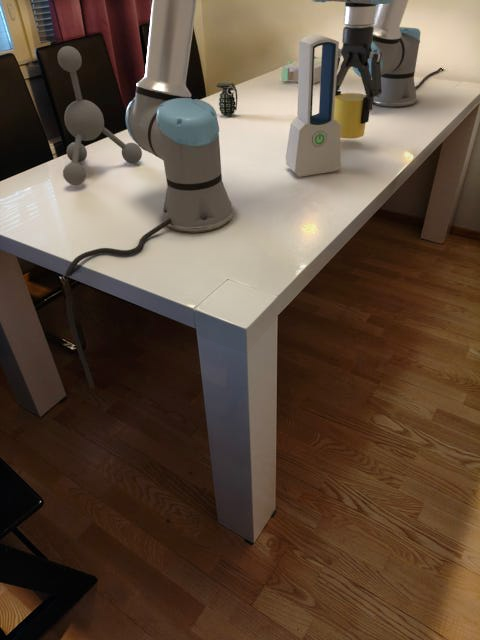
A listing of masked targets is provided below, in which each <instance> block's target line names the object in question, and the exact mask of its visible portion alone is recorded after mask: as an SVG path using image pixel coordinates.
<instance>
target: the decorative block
mask: <svg viewBox="0 0 480 640" xmlns="http://www.w3.org/2000/svg"><path fill="white" fill-rule="evenodd" d="M321 61H322V56H315V55H314V76H313V85H316V84H317V83H320V82H321ZM298 76H299V60H296V61H287V62H286V65H283V67H281V81H282V82H283V81H284V82H292V83H298Z"/></svg>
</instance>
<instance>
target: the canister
mask: <svg viewBox="0 0 480 640" xmlns="http://www.w3.org/2000/svg"><path fill="white" fill-rule="evenodd" d="M364 97H366V93H365V94H364V93H360V92H359V93H358V92H344V93H341V94H339V95H336V96H335V109H334V120H335V121H336V122H338V123H339V124H340V139H347V140H349V139H351V140H352V139H359V138H361V137H363V136H364V135H365V132H366V131H365V130H366V123H364V124H361V116H362V107H363V98H364Z"/></svg>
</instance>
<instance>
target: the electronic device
mask: <svg viewBox="0 0 480 640" xmlns="http://www.w3.org/2000/svg"><path fill="white" fill-rule="evenodd" d="M320 46H321V57H322V61H321V81H319V83H320V84H319V85H320V86H319V104H318V113H316V114H313V99H314V97H313V96H314V84H313V76H314V56H315V50H316V48H318V47H320ZM338 49H340V41H338V40H336V39H333V38H330V37H327V36H324V35H321V34H311V35H307V36H305V37H303V38H301V39H299V41H298V61H299V76H298V82H297V83H298V84H297V88H298V89H297V117H295V118H294V119H293V120H292V122H290V125H289V131H288V132H289V133H288V139H287V146H286V152H285V160H286V161H285V163H286V166H287V167H288V168H289V169H290V170H291V171H292V172H293V173H294V174H295V175H296V176H297V177H298V178H301V177H307V176H313V175H314V176H315V175H319V174H326V173H333V172H337V170H339V169H340V167H341V165H342V164H341V163H342V161H341V159H342V158H341V155H342V154H341V138H340V124H339V123H338V122H336V121H335V120H334V109H335V94H336V79H337V74H338V70H337V64H338Z"/></svg>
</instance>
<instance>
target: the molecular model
mask: <svg viewBox="0 0 480 640" xmlns="http://www.w3.org/2000/svg"><path fill="white" fill-rule="evenodd" d="M82 59H83V58H82V56H81V52H79V50H78V49H77V48H75V47H73V46H71V45H64V46H62V47H61V48H60V49H59V50H58V52H57V62H58V64H59V66H60V67H61V69H63V70H64V71H66V72H67V73H68V72H69V75H70V79H71V84H72V87H73V92H74V96H75V100H74V101H72V102H71V103H70V104H69V105H67V107H66V109H65V111H64V117H63V118H64V120H63V121H64V126H65V127H66V129H67V131H68V132H69V134H70V135H71V136H72V137H74V141H73V142H71V143H70V144H68V145H67V147H66V157H68V159H69V160H70V161H71V162H69V163H68V164H66V165H65V166H64V168H63V170H62V175H63V179H64V180H65V181H66V182H67V183H68V184H70V185H72V186H79V185H82V184H83V183H84V182H85V181H86V179H87V171H86V169H85V168H84V166H83V165H81V164H80V163H82V162H84V161H85V160H86V159H87V156H88V151H87V148H86V146H85V145H84V144H82V141H84V142H89V141H94V140H96V139H97V138H98V137H100V135H101V134H103V135H104V136H106V137H107V138H108V139H109V140H111V141H112V142H113V143H115V144H116V145H117V146H118V147H119V148H121V157H122V158H123V160H124V161H125V162H126V163H128V164H130V165H131V164H137V163H139V162H140V161H141V159H142V158H143V151H142V148H141V147H140V146H139V145H138V144H137V143H136V142H128V143H124V141H122V140H121V139H120V138H119V137H117V136H116V135H115V134H114V133H113V132H111V131H110V130H109V129H107V128H106V127H105V119H104V115H103V112H102V111H101V109H100V108H99V106H98V105H96V104H95V103H94V102H92V101H90V100H87V99H83V95H82V91H81V87H80V82H79V78H78V74H77V71H78V70H80V69H81V67H82V62H83V60H82Z"/></svg>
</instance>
